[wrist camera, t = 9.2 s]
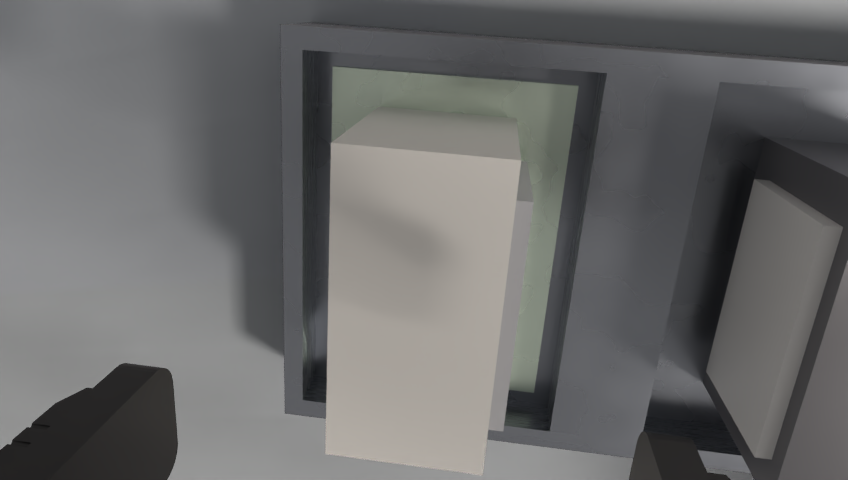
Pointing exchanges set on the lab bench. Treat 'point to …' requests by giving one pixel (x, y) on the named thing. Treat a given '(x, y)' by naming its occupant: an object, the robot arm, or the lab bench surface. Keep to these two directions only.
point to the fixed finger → (788, 318)
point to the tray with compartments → (567, 209)
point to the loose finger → (424, 285)
